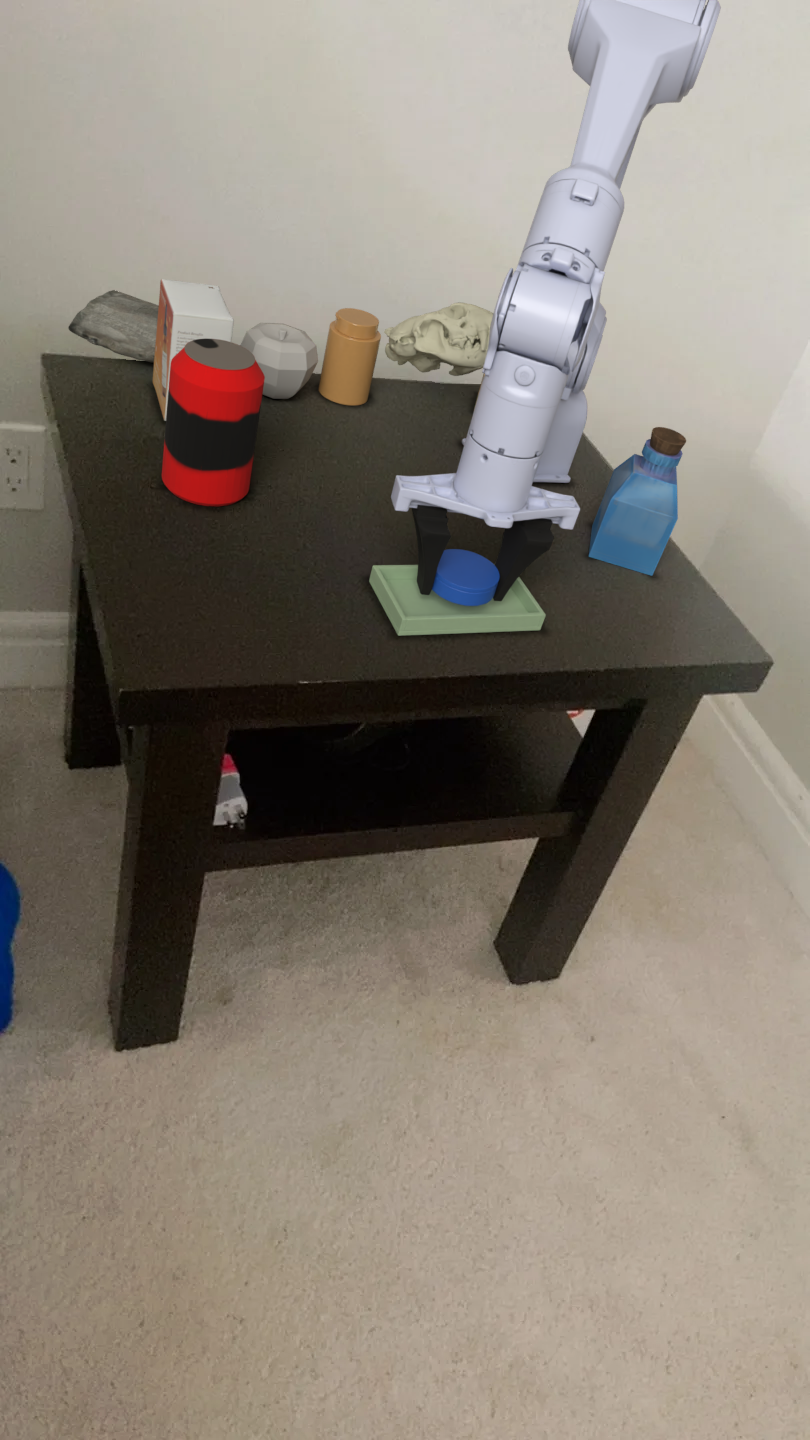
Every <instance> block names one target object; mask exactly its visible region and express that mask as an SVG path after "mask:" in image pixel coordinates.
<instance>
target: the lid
mask: <svg viewBox="0 0 810 1440" xmlns="http://www.w3.org/2000/svg"><path fill="white" fill-rule="evenodd" d="M494 564H495V563H493V562H492V561H491V560H489V559H488V558H487V557H484V555H481V554H478V553H476V552H473V551H470V550H465V549H459V548H449V549H448V548H447V549H445V550H444V552H443V554H442V557H441V559H440V562H439V564H438V567H437V572H436V576H435V580H434V584H433V587H432V590H433V591H434V592H435V593H436V594H437V595H439V596H440V597H442V598H444V599H445V600H448V601H450V602H452V603H456V604H459V605H464V606H479V605H483V604H486V603H488V602H489V601H491V600H492V598H493V597H494V594H495V591H496V588H497V585H498V582H499V578H500V574H499V571H498V569H497V568H496V566H495V565H494Z"/></svg>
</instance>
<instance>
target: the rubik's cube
mask: <svg viewBox="0 0 810 1440" xmlns="http://www.w3.org/2000/svg"><path fill="white" fill-rule="evenodd" d="M482 374H483V375H482V378H481V382H480V385H479V389H478V392H477V396H476V401H475V405H474V408H473V410H474V409H475V406H476V402H477V399H478V395H479V391H480V388H481V384H482V381H483V377H484V376H485V373H482Z"/></svg>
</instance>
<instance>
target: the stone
mask: <svg viewBox="0 0 810 1440" xmlns="http://www.w3.org/2000/svg"><path fill="white" fill-rule="evenodd" d="M118 291H119V290H116V291H115V289H112V290H108V291H106V292H105V293H103V294H102V295H98V296H96V297H95V298H93V299H91V300H89V302H87V304H86V305H85V307H84V308H83V309H81V310H80V311H78V312H77V313H76V315H74V318H73V319H72V320H71V323H70V324H69V325H68V327H67V329H68V330H69V332H71V333H72V334H74V335H76V336H78V337H80V338H82V339H84V340H85V341H87V342H89V344H92V345H94V346H99V347H102V348H104V349H106V350H109V351H112V352H113V353H114V354H118V355H120V356H124V357H127V358H130V359H131V358H132V359H134V360H137V361H142V362H146V363H150V364H151V363H152V364H154V357H155V344H156V332H157V320H158V308H159V304H156V303H153V302H150V301H147V300H144V299H141V298H138V297H136V296H133V295H131V294H127V293H124V292H122V291H119V292H118Z"/></svg>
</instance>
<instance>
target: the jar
mask: <svg viewBox="0 0 810 1440" xmlns="http://www.w3.org/2000/svg"><path fill="white" fill-rule="evenodd" d="M334 316H335V320H333V321H331V322H330V323H329V327H328V333H327V338H326V342H325V343H326V344H325V349H324V355H323V361H322V366H321V372H320V376H319V383H318V387H317V388H318V392H319V394H320V395H321V396H322V397H324V398H325V399H327V400H329V401H330V402H332V403H335V404H339V405H344V406H361V405H364V404H366V403H367V402H368V400H369V395H370V391H371V386H372V382H373V377H374V372H375V367H376V364H377V358H378V353H379V349H380V345H381V339H382V335H381V334H382V333H381V332H380V331H379V325H380V321H379V318H378V317H377V316H375V315H374V314H372V313H370V312H369V311H365V310H364V309H358V308H354V307H352V308H351V307H344V308H340V309H338V310H337V311H336V312H335V314H334Z"/></svg>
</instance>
